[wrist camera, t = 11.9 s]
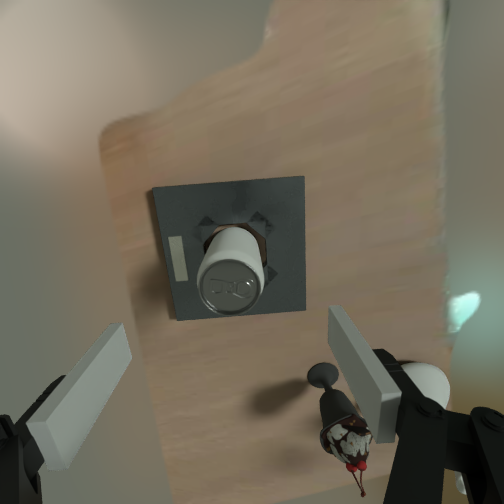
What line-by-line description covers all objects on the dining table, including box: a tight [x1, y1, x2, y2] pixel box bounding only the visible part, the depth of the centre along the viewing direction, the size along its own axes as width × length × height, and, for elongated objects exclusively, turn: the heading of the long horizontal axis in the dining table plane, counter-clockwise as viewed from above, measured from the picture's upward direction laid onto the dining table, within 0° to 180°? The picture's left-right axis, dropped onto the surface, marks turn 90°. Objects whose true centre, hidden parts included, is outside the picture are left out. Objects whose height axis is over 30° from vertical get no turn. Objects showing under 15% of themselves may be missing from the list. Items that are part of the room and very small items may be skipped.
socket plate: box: [152, 176, 306, 321], centre depth 33 cm, size 18×18×2 cm
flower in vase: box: [401, 362, 467, 495], centre depth 30 cm, size 13×11×25 cm
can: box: [197, 227, 264, 316], centre depth 29 cm, size 6×6×12 cm
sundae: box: [308, 363, 373, 497], centre depth 34 cm, size 7×7×15 cm
